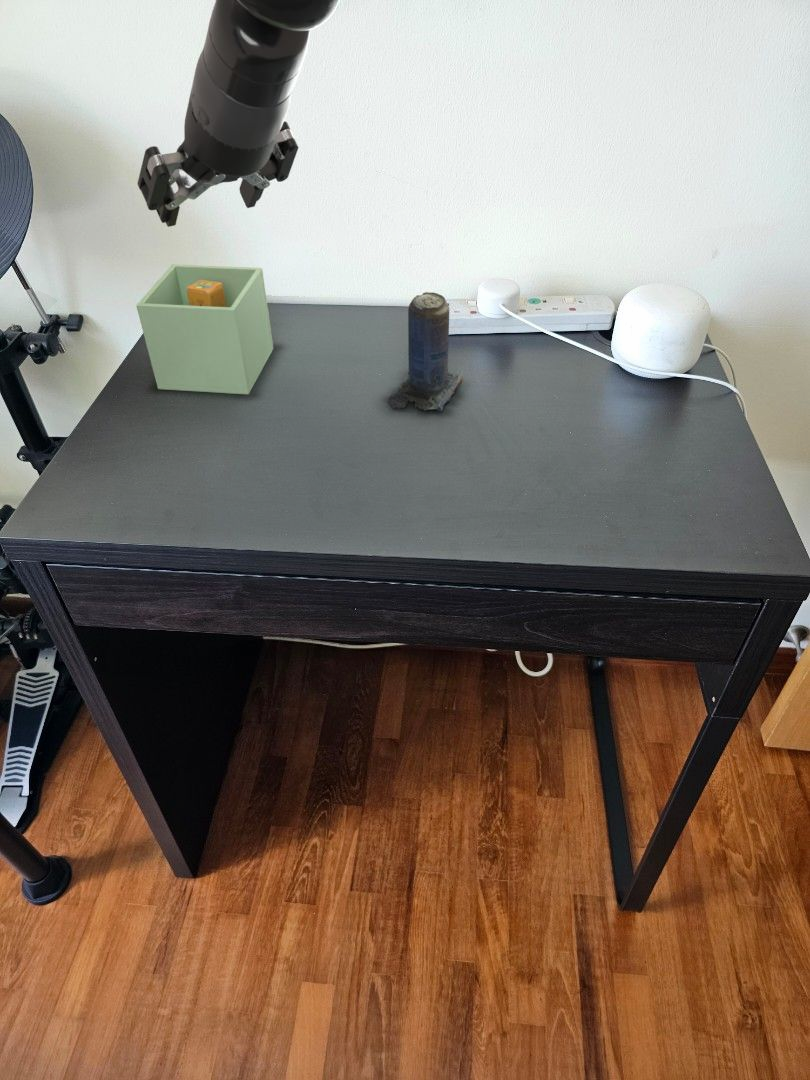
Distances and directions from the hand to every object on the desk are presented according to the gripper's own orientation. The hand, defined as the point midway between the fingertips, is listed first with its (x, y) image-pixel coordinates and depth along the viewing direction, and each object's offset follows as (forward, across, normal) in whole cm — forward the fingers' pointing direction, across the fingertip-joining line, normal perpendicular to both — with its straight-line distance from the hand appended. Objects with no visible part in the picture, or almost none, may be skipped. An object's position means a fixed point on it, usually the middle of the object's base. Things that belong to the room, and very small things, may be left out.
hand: (207, 208), depth 79 cm
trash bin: (+20, 0, +10) cm, 22 cm away
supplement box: (+20, 0, +10) cm, 22 cm away
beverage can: (+6, -18, +24) cm, 31 cm away
